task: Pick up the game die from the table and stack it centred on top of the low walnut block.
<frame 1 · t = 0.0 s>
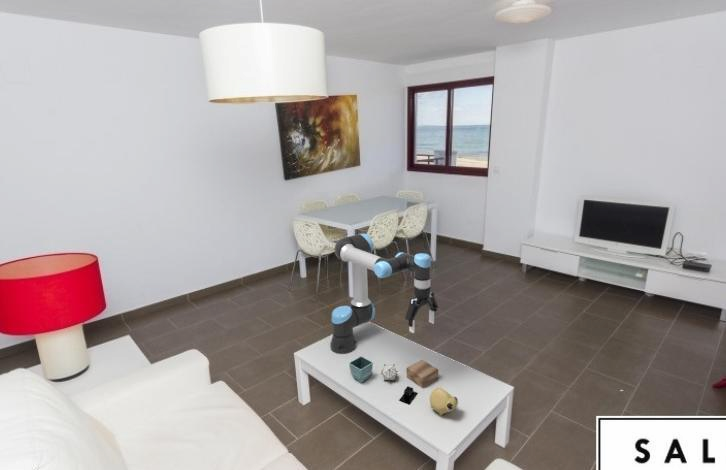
hand: (421, 327, 184), 28 cm above the table, fingers open, 13 cm apart
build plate: (408, 397, 178), on the table
game die: (389, 379, 190), on the table
walnut block: (422, 378, 190), on the table
toy pig: (443, 411, 167), on the table
flower pot: (361, 378, 192), on the table
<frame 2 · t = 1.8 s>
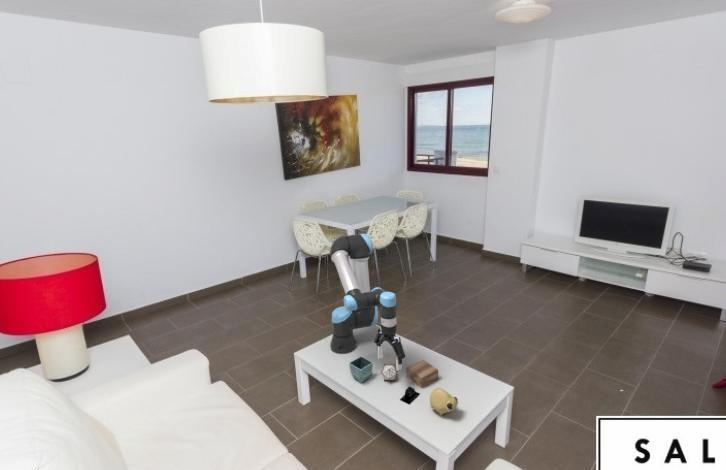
hand: (389, 363, 187), 9 cm above the table, fingers open, 13 cm apart
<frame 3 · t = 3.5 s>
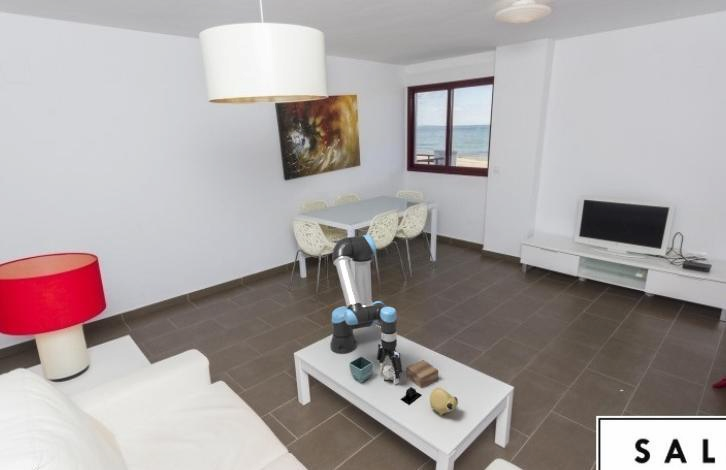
hand: (389, 378, 190), 1 cm above the table, fingers closed on game die, 9 cm apart
game die: (389, 379, 190), on the table, touching gripper
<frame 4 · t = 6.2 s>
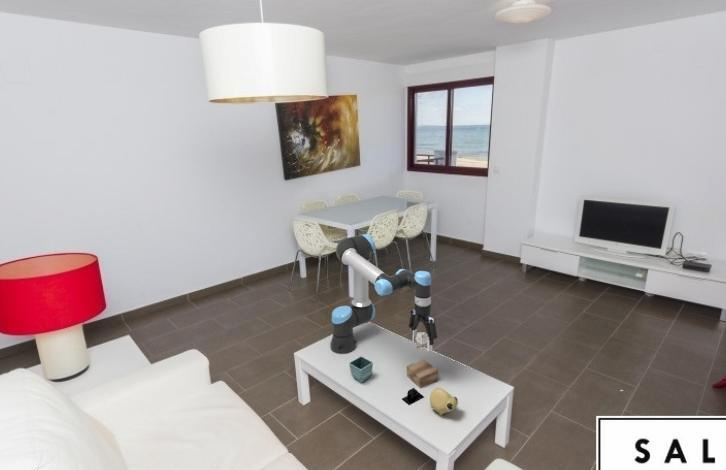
hand: (422, 345, 185), 18 cm above the table, fingers closed on game die, 9 cm apart
game die: (422, 347, 185), point 18 cm above the table, touching gripper
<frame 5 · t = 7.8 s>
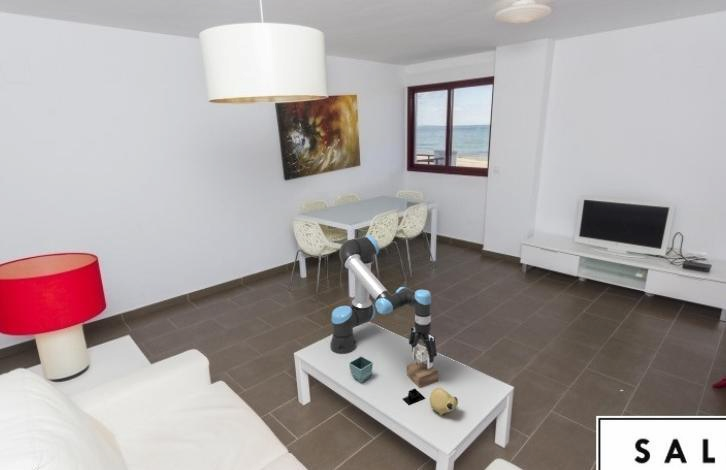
hand: (422, 362, 188), 9 cm above the table, fingers closed on game die, 9 cm apart
game die: (422, 364, 188), point 8 cm above the table, touching gripper
when the fingers open (8 cm above the table, at t = 8.9 s): game die drops 2 cm, resting on walnut block.
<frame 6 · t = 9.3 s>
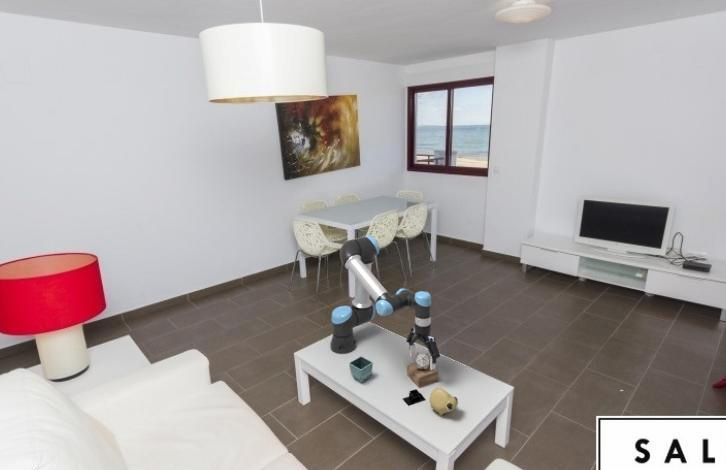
hand: (422, 362, 188), 9 cm above the table, fingers open, 13 cm apart
game die: (422, 368, 189), point 5 cm above the table, touching walnut block
walnut block: (422, 379, 190), on the table, touching game die
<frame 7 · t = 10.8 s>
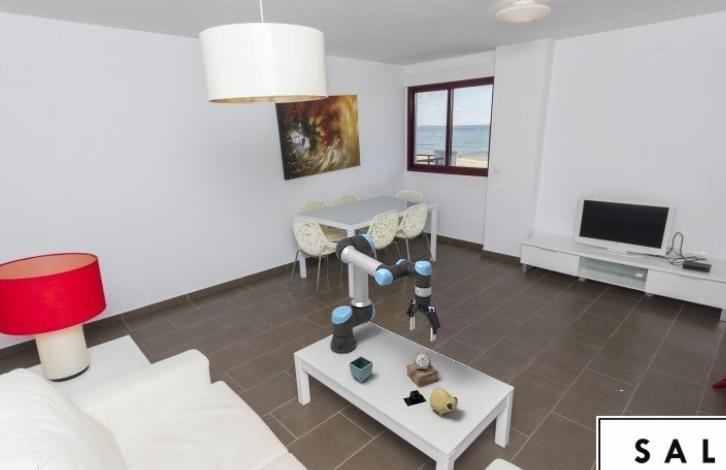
hand: (422, 334, 184), 25 cm above the table, fingers open, 13 cm apart
game die: (422, 369, 188), point 5 cm above the table
walnut block: (422, 378, 190), on the table
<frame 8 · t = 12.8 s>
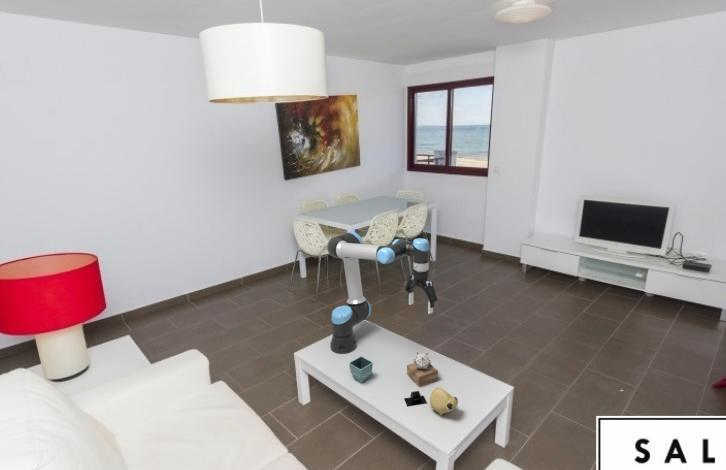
hand: (420, 308, 195), 32 cm above the table, fingers open, 13 cm apart
game die: (422, 368, 189), point 5 cm above the table, touching walnut block
walnut block: (422, 378, 191), on the table, touching game die
at the end: game die inside the target area on the walnut block (0.4 cm from its centre), point 5.8 cm above the walnut block's base; game die touching walnut block; the gripper is holding nothing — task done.
